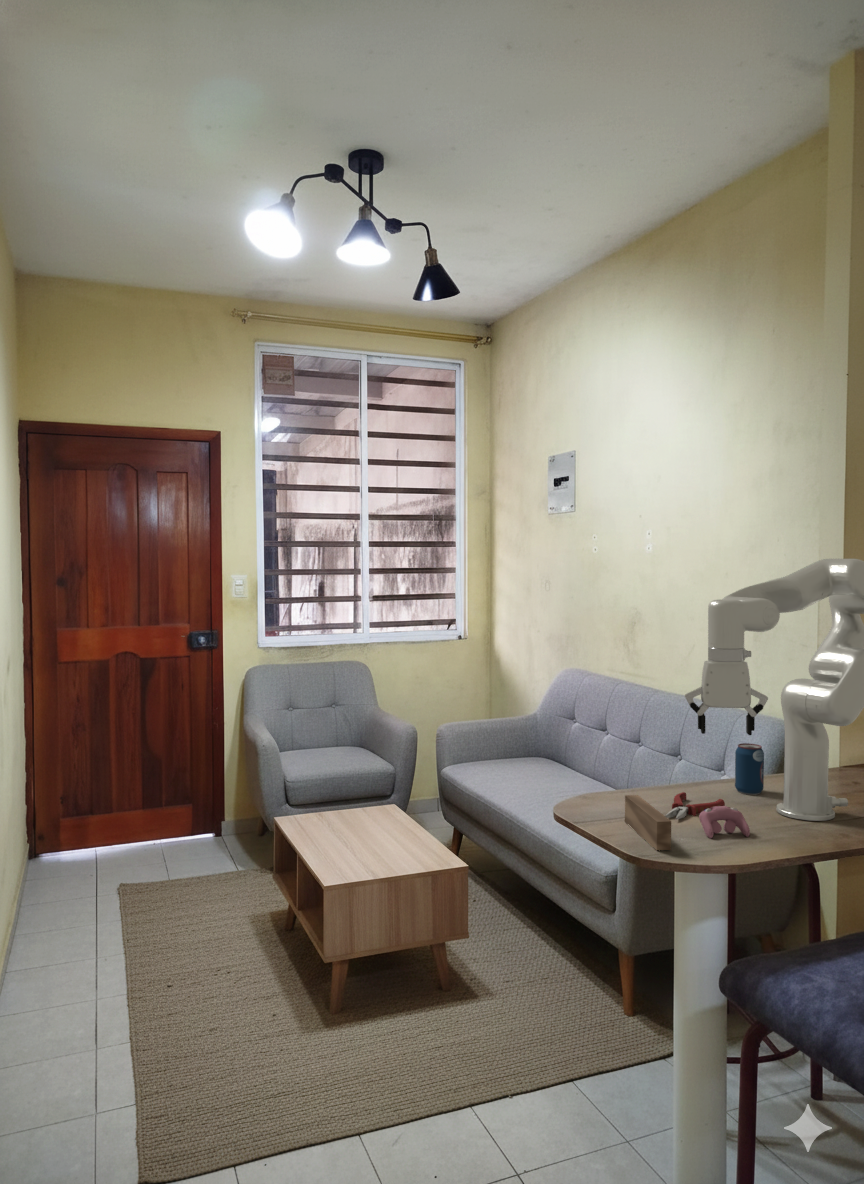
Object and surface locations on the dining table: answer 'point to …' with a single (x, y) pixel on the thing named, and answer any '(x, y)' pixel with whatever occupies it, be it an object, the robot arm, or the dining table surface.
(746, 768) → the soda can
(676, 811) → the pliers
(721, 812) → the video game controller
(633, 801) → the bar
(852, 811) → the dining table surface
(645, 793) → the dining table surface
